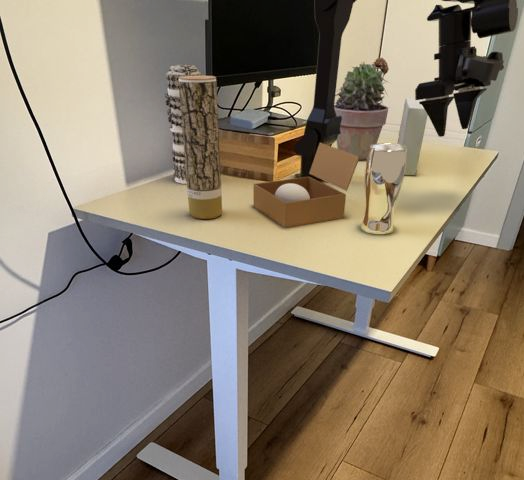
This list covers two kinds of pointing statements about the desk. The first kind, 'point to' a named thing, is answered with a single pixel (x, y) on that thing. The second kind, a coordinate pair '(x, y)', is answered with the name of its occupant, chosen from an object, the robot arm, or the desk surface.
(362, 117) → the potted plant
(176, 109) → the decorative candle
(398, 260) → the desk surface
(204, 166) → the paper tube
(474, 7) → the robot arm
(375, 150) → the beer glass
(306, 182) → the carton
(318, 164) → the flap
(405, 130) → the skincare box
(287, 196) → the stress ball
